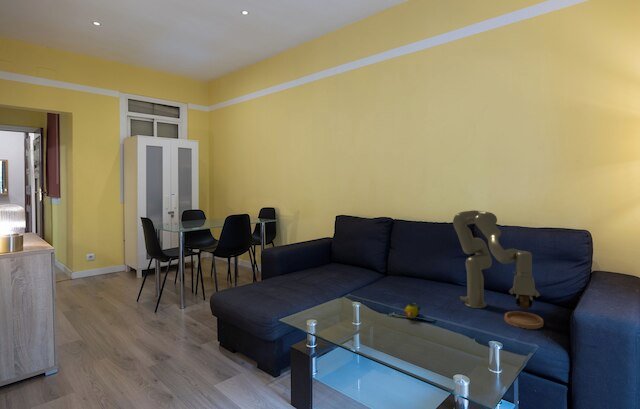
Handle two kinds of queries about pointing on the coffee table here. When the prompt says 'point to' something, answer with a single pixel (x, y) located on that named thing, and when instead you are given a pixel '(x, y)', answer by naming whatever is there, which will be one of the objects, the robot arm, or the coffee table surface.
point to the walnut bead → (524, 301)
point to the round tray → (523, 319)
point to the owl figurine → (410, 311)
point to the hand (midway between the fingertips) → (524, 305)
